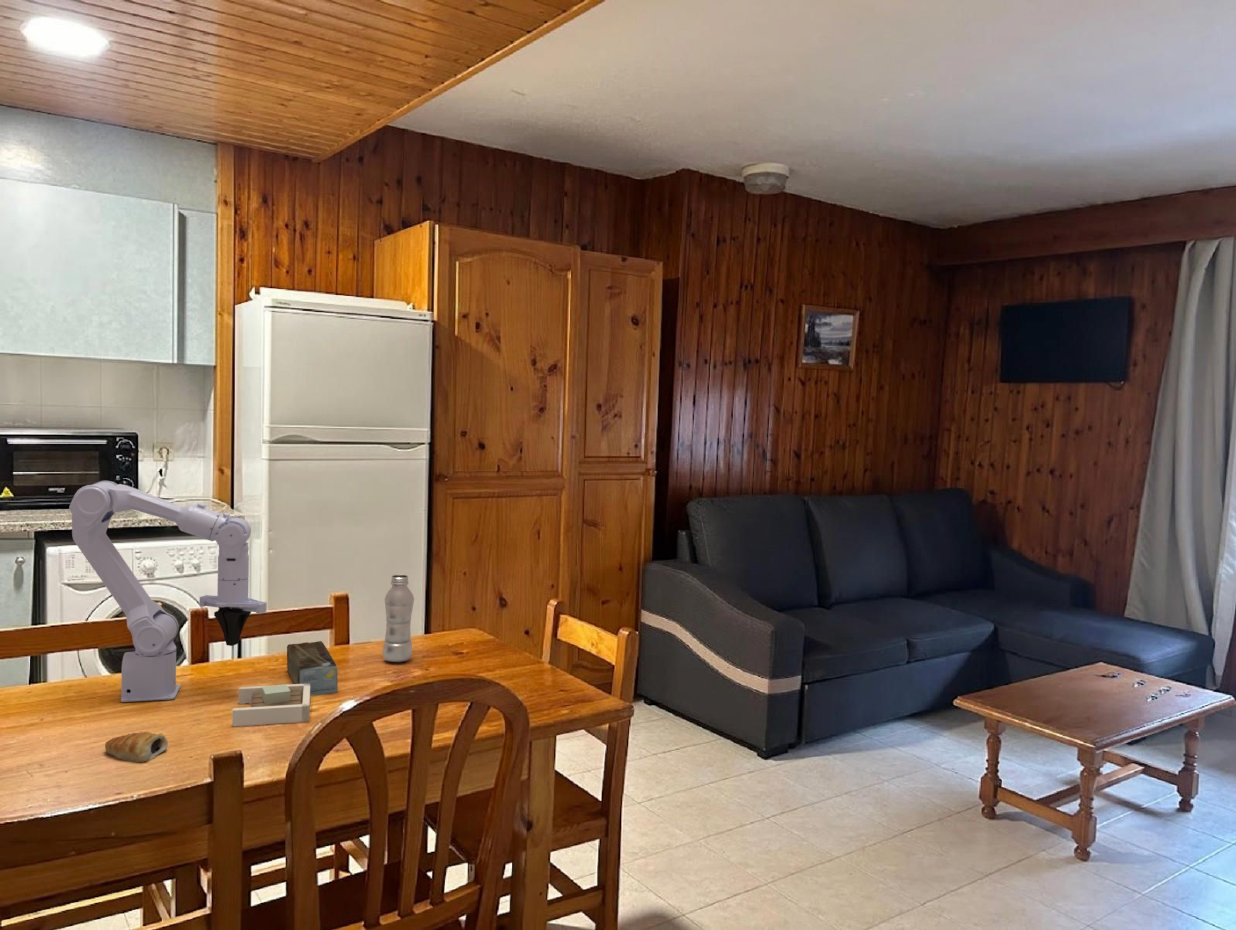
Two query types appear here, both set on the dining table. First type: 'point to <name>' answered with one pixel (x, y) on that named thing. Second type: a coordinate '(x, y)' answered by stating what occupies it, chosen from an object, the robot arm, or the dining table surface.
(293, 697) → the pallet
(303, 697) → the dock
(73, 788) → the dining table surface
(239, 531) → the robot arm
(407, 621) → the plastic bottle
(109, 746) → the pastry
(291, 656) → the beverage carton
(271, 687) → the pale green block
